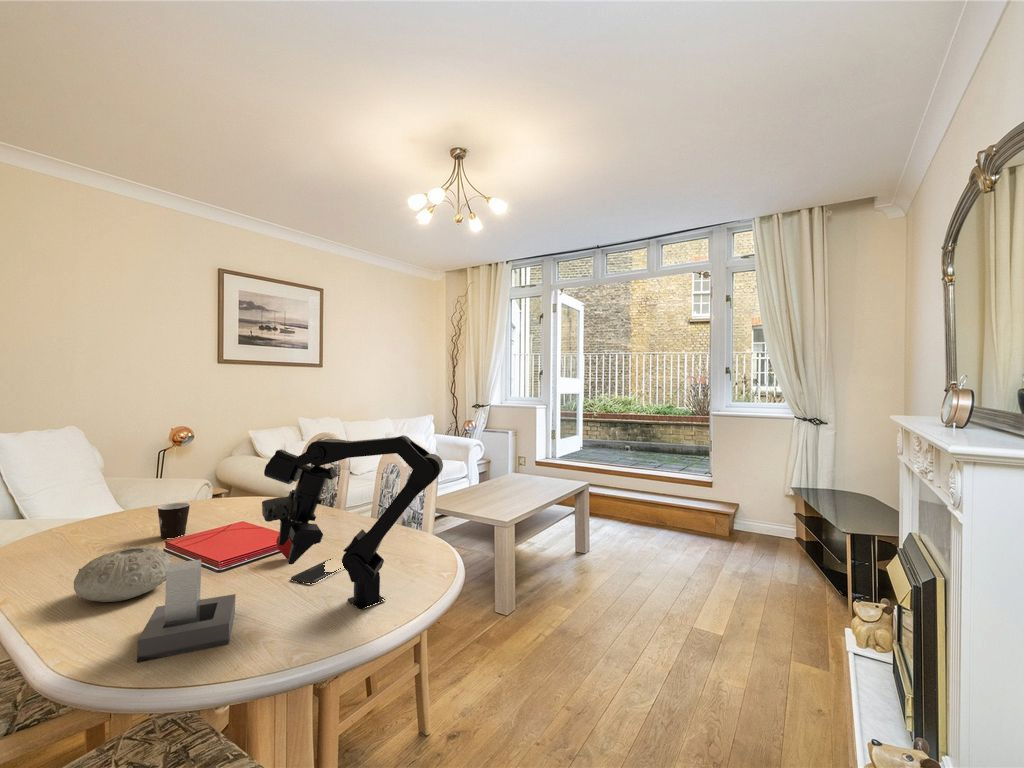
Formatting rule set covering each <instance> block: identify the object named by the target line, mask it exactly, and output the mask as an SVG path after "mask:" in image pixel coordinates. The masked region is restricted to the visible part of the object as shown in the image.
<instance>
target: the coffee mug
mask: <svg viewBox="0 0 1024 768" xmlns="http://www.w3.org/2000/svg"><path fill="white" fill-rule="evenodd" d="M190 507H191V503H188V502H174V503H167V504H163V505H160V506H158V507H157V514H158V515H157V516H158V523H159V532H160V538H162V540H168V539H167V538H175V537H178V536H181V535H184V534H185V535H186V530H187V525H188V524H187V523H188V518H189V511H190ZM185 535H184V536H185ZM175 539H176V538H175Z"/></svg>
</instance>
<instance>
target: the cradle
mask: <svg viewBox="0 0 1024 768" xmlns="http://www.w3.org/2000/svg"><path fill="white" fill-rule="evenodd" d="M236 594H237V593H234V594H233V593H231V594H227V595H220V596H215V597H209V598H208V597H207V598H202V599H201V598H200V621H199V622H196V623H190V624H184V625H179V626H173V627H168V628H164V624H165V604H164V605H159V606H156V607H155V609H154V610H153V613H152V614H151V615H150V618H149V620H148V621H147V623H146V625H145V626H144V628H143V630H142V631H141V633H140V635H139V637H138V639H137V648H136V651H137V653H136V663H141V662H146V661H152V660H156V659H160V658H166V657H171V656H177V655H180V654H187V653H191V652H196V651H201V650H206V649H210V648H217V647H221V646H226V645H229V644H230V639H231V633H232V630H233V625H234V618H235V615H236V600H237V599H236V598H237V597H236V596H237V595H236Z"/></svg>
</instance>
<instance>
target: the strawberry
mask: <svg viewBox="0 0 1024 768" xmlns="http://www.w3.org/2000/svg"><path fill="white" fill-rule="evenodd" d="M279 534H280V532H279V533H278V536H277V538H276V541H275V542H276V545H277V549H278V550H279V551H280V553H281V554H282V555H283V556H284V557H285V559H286V558H287V560H288V559H289V554H290V550H291V545H292V542H291V541H290V539H288V540H287V541H286V543H285V544H284V545H279Z"/></svg>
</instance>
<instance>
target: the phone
mask: <svg viewBox="0 0 1024 768" xmlns="http://www.w3.org/2000/svg"><path fill="white" fill-rule="evenodd" d="M331 559H332V558H330V559H327V560H324V561H322V562H320V563H318V564H315V565H314V566H312V567H309V568H307V569H305V570H303V571H300V572H299V573H296V574H295V575H292V576H291V577H290V581H291V580H293V581H297V582H302V583H303V582H304V583H310V584H312V583H316V582H318V581H319V580H321V579H323V578H325V577H326V576H328V575H330V574H332V573H334V572H336V571H337V570H336V571H334V572H324V571H325V569H324V567H325V565H323V564H325V562H326V561H328V560H331ZM340 569H341V568H340ZM338 570H339V569H338ZM325 573H326V574H325ZM297 582H296V583H297ZM302 583H301V584H302Z"/></svg>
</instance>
